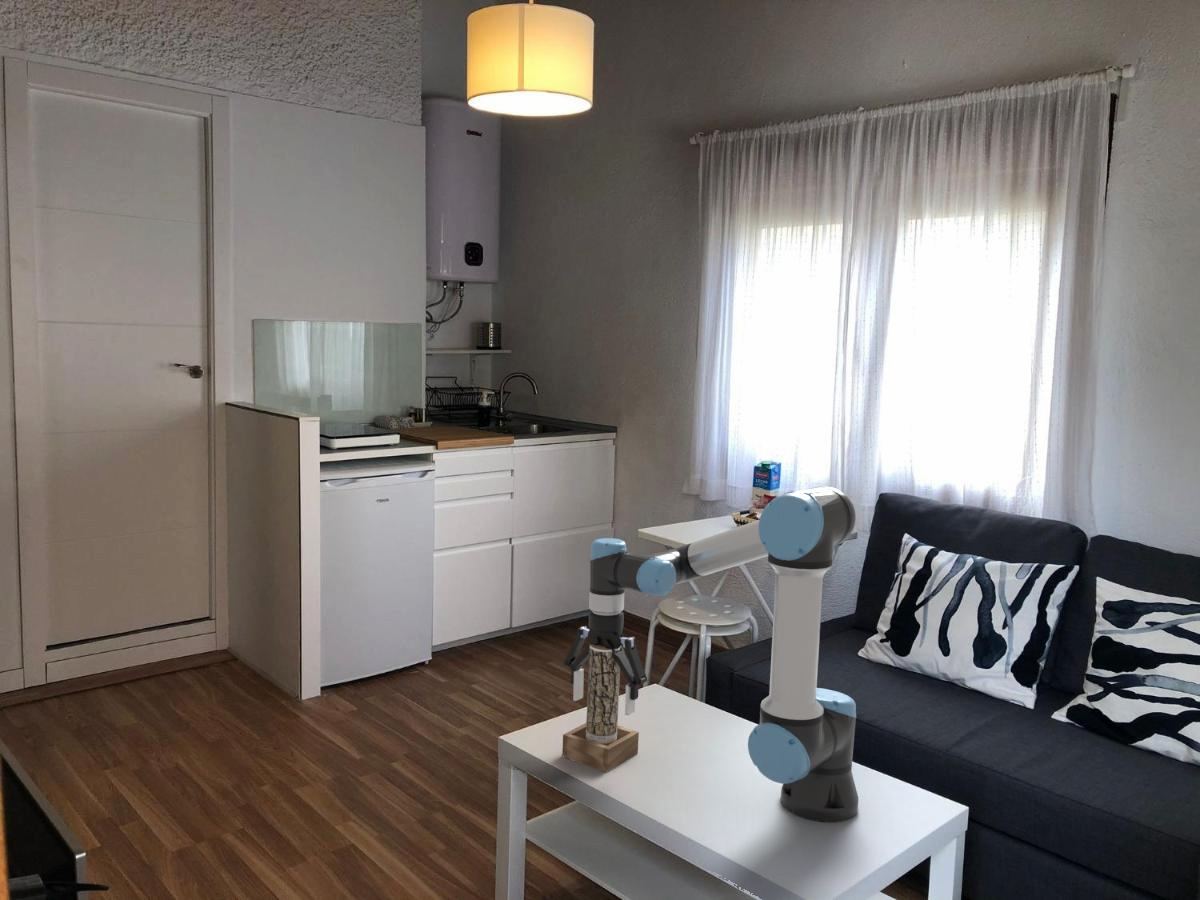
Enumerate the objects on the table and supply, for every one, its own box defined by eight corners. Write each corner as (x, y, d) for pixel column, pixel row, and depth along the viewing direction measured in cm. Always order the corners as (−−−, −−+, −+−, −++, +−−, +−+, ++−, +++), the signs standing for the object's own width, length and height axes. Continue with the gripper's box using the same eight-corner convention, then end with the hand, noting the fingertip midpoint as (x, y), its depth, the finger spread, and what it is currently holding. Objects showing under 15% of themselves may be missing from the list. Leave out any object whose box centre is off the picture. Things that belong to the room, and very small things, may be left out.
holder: (637, 753, 222) (638, 732, 221) (607, 772, 212) (608, 749, 212) (593, 739, 229) (594, 718, 228) (562, 756, 219) (563, 734, 218)
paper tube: (612, 763, 216) (617, 651, 213) (582, 759, 218) (586, 647, 215) (618, 751, 223) (623, 641, 220) (588, 747, 224) (593, 638, 221)
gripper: (665, 617, 213) (661, 714, 215) (569, 597, 227) (567, 688, 229) (646, 625, 206) (642, 724, 209) (549, 604, 220) (547, 697, 223)
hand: (603, 706), depth 219 cm, fingers open, 13 cm apart
